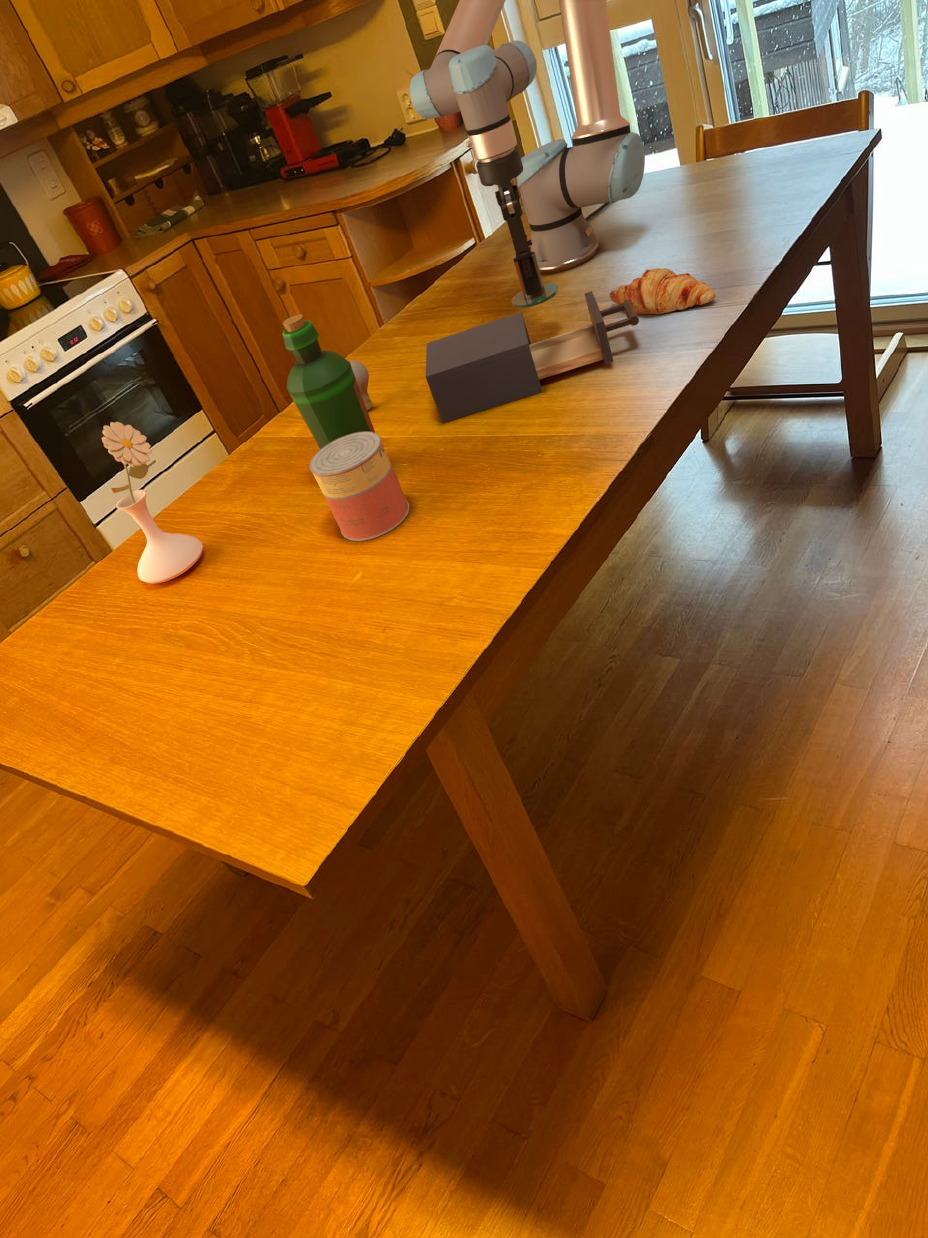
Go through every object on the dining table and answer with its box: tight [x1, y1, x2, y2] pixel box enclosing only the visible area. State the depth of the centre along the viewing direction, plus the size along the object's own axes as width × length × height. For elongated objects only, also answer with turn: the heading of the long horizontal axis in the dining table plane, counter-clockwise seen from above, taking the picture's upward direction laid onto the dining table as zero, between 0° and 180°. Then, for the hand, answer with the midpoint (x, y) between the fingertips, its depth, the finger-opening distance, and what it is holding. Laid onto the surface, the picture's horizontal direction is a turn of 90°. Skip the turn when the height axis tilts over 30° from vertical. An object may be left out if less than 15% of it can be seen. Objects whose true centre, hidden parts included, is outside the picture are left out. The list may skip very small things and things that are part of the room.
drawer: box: [529, 290, 640, 381], centre depth 155 cm, size 24×15×7 cm, turn 90°
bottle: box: [282, 313, 376, 450], centre depth 143 cm, size 11×11×28 cm
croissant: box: [609, 267, 716, 315], centre depth 163 cm, size 21×10×8 cm, turn 52°
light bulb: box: [348, 360, 373, 412], centre depth 169 cm, size 6×6×10 cm
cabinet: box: [425, 311, 543, 424], centre depth 158 cm, size 18×15×9 cm
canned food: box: [308, 432, 410, 542], centre depth 135 cm, size 11×11×12 cm
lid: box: [511, 252, 559, 309], centre depth 163 cm, size 9×9×8 cm
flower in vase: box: [101, 421, 204, 585], centre depth 141 cm, size 13×11×25 cm
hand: (533, 288), depth 165 cm, fingers closed on lid, 4 cm apart
